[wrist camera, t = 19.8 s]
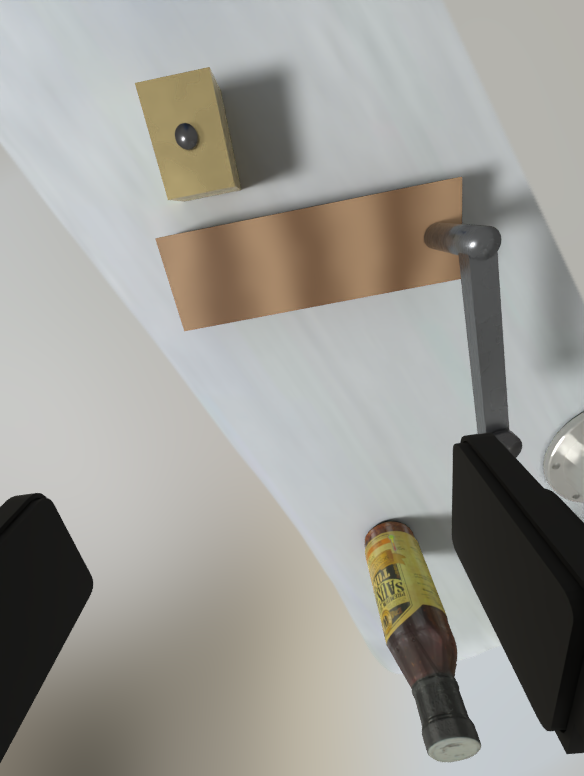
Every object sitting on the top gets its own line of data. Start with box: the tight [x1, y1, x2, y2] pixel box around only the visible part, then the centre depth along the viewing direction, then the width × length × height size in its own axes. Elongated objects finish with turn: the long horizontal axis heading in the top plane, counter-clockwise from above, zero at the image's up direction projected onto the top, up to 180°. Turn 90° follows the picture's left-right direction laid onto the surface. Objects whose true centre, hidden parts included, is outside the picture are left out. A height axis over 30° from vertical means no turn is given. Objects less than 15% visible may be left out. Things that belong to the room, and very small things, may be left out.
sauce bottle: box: [365, 521, 481, 762], centre depth 37 cm, size 7×6×20 cm
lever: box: [424, 222, 522, 458], centre depth 27 cm, size 16×2×8 cm, turn 17°
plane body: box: [156, 177, 462, 331], centre depth 30 cm, size 23×7×4 cm, turn 100°
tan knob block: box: [135, 67, 241, 201], centre depth 26 cm, size 5×6×5 cm
